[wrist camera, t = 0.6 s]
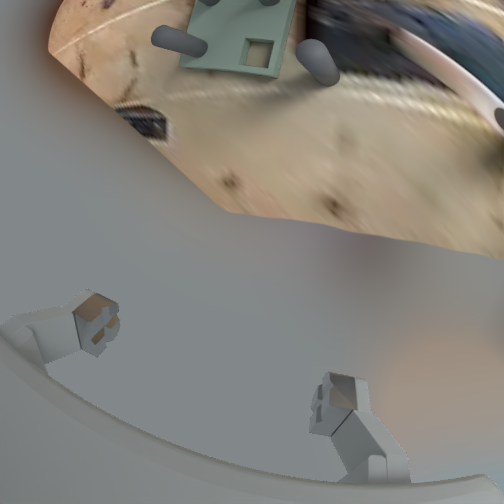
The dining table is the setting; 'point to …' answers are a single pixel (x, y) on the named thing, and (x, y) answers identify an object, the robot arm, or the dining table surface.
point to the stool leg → (318, 61)
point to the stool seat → (230, 34)
